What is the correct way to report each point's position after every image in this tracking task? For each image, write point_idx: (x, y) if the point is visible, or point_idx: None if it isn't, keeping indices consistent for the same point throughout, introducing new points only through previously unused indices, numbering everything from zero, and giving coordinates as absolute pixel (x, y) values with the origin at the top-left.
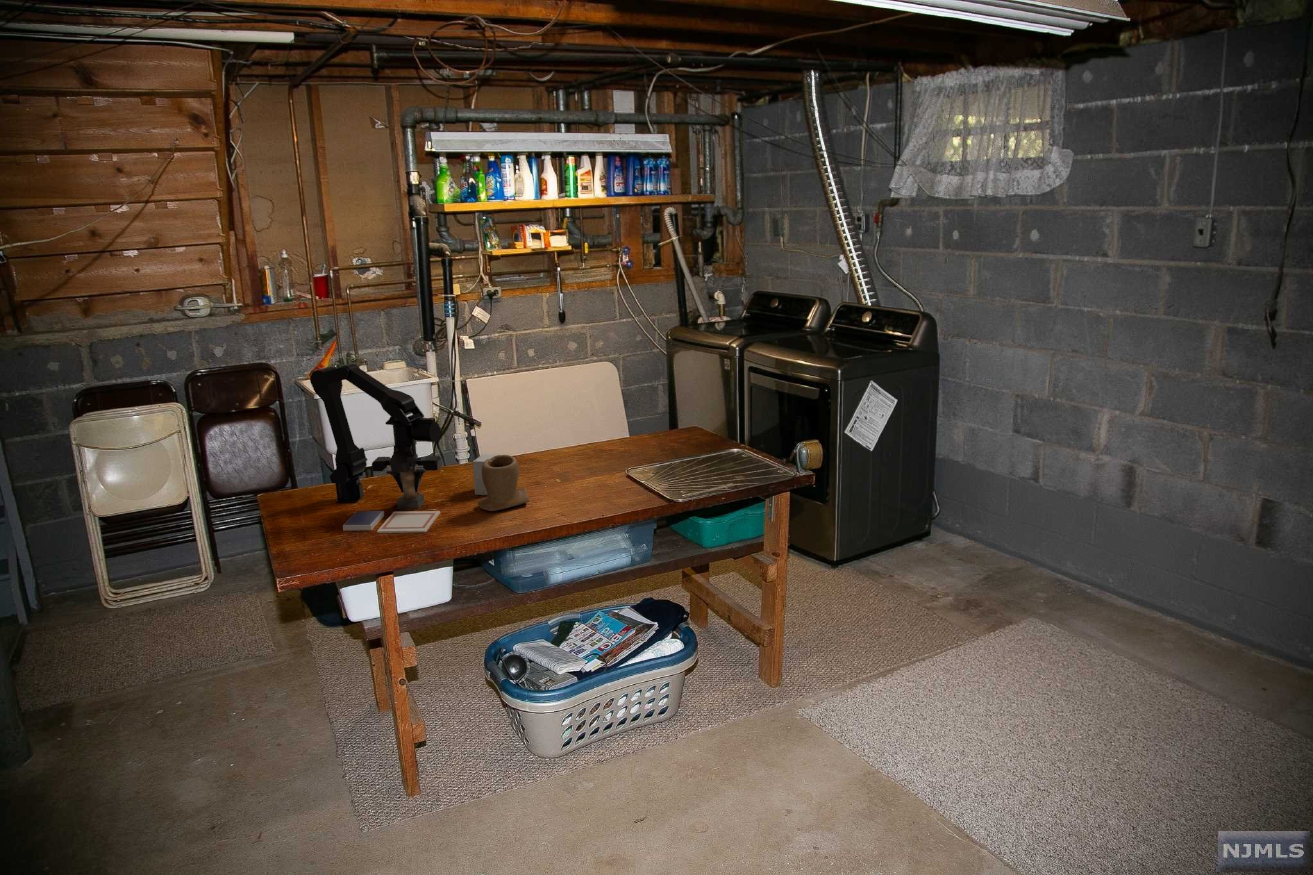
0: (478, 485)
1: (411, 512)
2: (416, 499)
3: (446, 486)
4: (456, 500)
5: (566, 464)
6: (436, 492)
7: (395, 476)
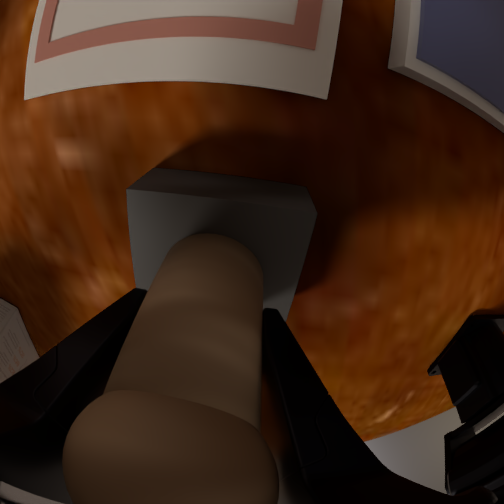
0: None
1: (177, 57)
2: (145, 218)
3: None
4: (34, 270)
5: None
6: None
7: (353, 474)
